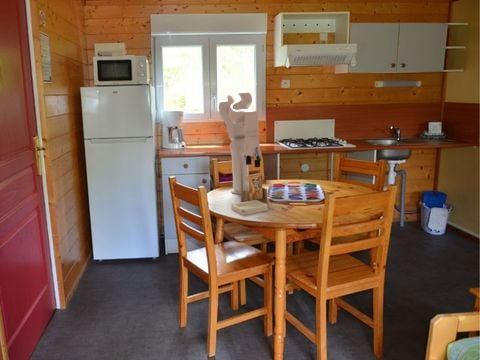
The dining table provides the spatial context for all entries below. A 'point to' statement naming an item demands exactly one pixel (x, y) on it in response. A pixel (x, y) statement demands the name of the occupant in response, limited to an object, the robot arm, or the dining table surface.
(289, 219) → the dining table surface
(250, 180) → the candy box
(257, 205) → the tray
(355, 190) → the dining table surface
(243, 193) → the holder
